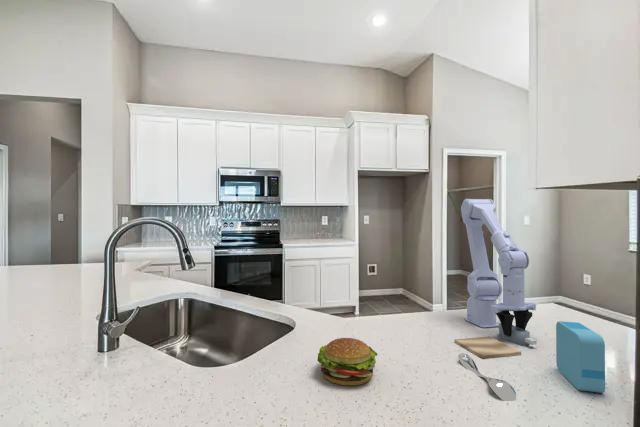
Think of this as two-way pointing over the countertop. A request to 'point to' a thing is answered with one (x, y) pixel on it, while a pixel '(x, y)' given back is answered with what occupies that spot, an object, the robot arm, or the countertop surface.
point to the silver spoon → (491, 380)
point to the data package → (580, 356)
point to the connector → (518, 336)
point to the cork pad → (487, 347)
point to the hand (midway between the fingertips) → (513, 334)
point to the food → (347, 361)
